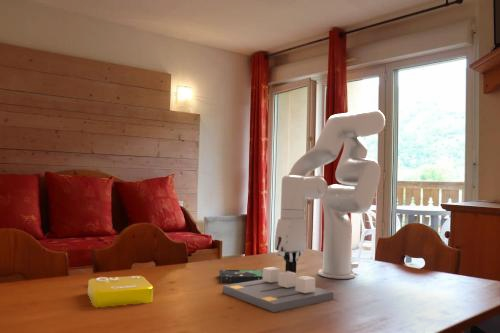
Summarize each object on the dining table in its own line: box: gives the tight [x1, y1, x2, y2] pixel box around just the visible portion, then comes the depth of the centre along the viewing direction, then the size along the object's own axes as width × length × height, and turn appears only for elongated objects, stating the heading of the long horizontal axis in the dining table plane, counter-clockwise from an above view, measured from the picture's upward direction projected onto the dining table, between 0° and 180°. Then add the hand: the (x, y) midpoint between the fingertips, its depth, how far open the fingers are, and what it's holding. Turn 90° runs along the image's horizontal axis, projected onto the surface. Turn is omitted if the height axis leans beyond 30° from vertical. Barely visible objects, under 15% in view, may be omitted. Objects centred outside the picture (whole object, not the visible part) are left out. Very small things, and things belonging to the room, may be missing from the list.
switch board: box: [222, 279, 334, 313], centre depth 125 cm, size 22×22×2 cm
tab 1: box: [262, 266, 282, 283], centre depth 133 cm, size 4×4×4 cm
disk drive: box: [218, 269, 263, 284], centre depth 144 cm, size 10×3×15 cm
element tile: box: [87, 275, 154, 308], centre depth 118 cm, size 15×15×5 cm
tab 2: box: [278, 271, 298, 288], centre depth 127 cm, size 4×4×4 cm
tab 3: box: [295, 275, 316, 293], centre depth 122 cm, size 4×4×4 cm
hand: (290, 273), depth 138 cm, fingers closed
